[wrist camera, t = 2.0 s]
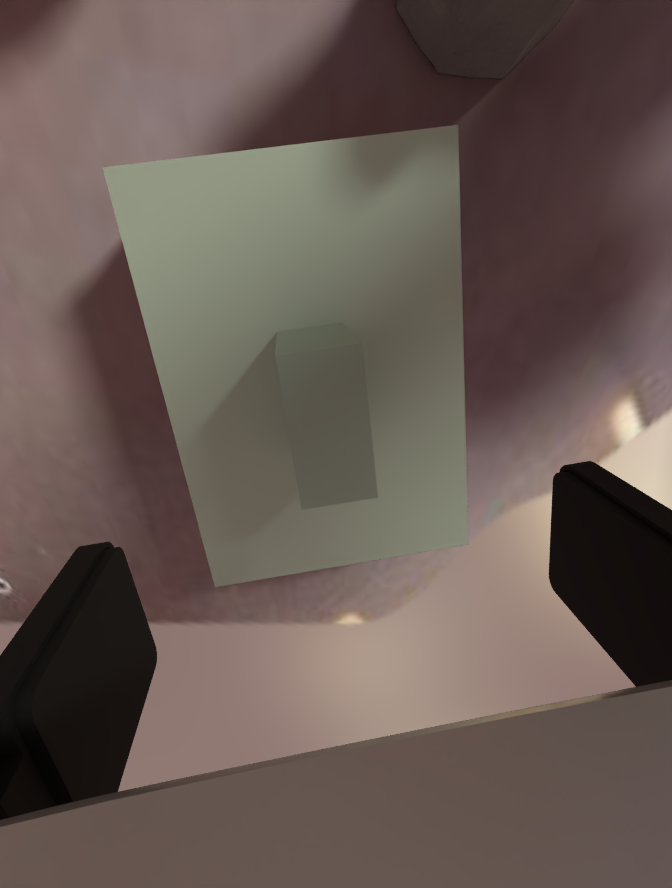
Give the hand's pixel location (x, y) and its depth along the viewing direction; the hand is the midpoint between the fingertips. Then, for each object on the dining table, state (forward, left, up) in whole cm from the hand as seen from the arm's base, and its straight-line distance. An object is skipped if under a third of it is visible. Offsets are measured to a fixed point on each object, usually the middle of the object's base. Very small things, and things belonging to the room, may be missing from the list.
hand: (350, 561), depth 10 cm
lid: (0, 0, -16) cm, 16 cm away
